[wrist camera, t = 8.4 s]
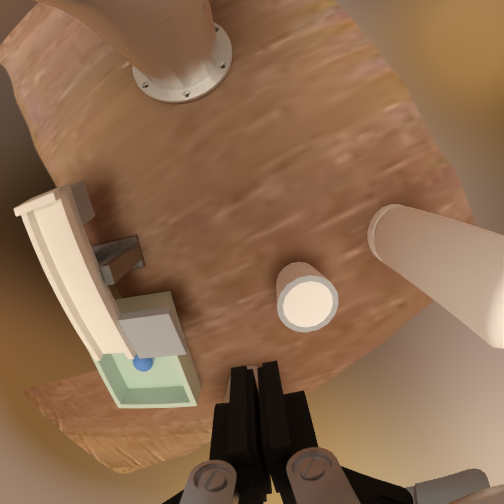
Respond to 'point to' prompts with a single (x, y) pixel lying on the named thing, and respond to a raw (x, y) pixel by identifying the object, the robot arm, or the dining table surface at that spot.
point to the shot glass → (305, 298)
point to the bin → (159, 376)
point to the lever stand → (118, 258)
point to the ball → (142, 363)
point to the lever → (91, 280)
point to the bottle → (446, 264)
